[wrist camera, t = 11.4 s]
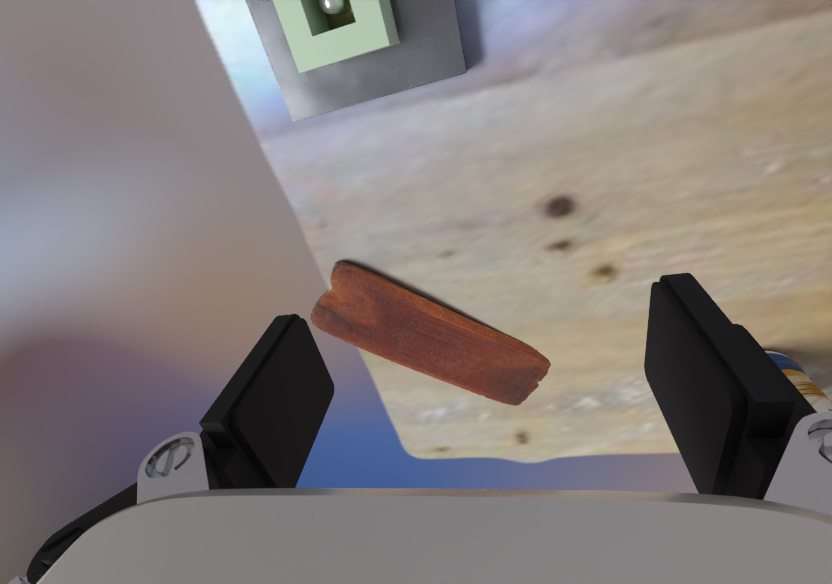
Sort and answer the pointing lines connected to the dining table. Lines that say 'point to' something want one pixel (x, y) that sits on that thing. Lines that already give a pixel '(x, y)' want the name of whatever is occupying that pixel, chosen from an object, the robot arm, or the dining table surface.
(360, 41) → the slotted bar
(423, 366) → the wooden tablet
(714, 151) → the dining table surface
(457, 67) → the base plate
